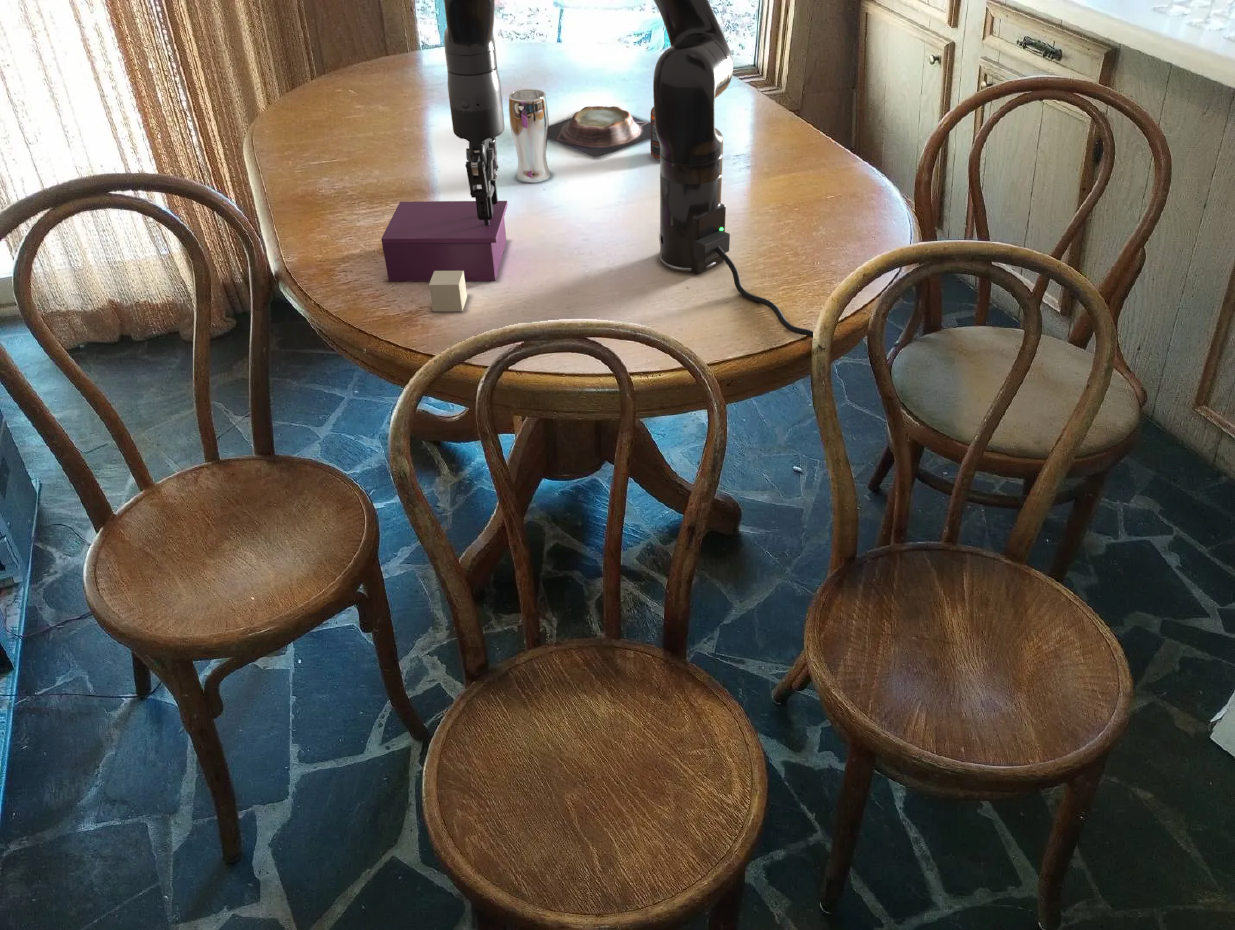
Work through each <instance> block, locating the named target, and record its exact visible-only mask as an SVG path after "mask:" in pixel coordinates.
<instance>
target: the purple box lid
mask: <svg viewBox="0 0 1235 930" xmlns="http://www.w3.org/2000/svg"><path fill="white" fill-rule="evenodd" d="M481 189H483V188H481ZM490 189H491V204H492V195H493V192H494V186H493V185H492V184H491V183H490ZM508 206H509V204H508V200H498V201H497V204H495V205H492V213H493V216H492V219H491V220H479V219H478V216H477V207H476V200H443V201H442V200H439V201H437V200H435V201H434V200H432V201H431V200H429V201H428V200H427V201H426V200H425V201H423V200H422V201H420V200H417V201H415V200H413V201H399V203H398V205H397V206H396V209H395V211H394V212H393V214H392V216H391V219H390V221H389V223H388V224H387V227H386V228H385V230H384V232H383V234H382V236H381V239H380V242H381V245H382V244H392V243H496V242H497V239H498V236H499V232H500V229H501V226H502V223H503V219H504V220H505V216H506V212H507V209H508Z"/></svg>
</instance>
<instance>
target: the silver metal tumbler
mask: <svg viewBox="0 0 1235 930" xmlns="http://www.w3.org/2000/svg"><path fill="white" fill-rule="evenodd" d="M508 118H509V126H510V131H511V136H512V140H513V143H514V147H515V151H516V155H517V156H516V157H517V168H516V169H517V171H516V178H517V180H518V181H521V182H523V183H528V184H535V183H537V184H538V183H541V182H544V181H547V180H548V179H549V178H550V177H551V173H550V168H549V165H548V158H547V151H548V150H547V149H548V140H549V139H548V129H549V126H550V123H549V122H550V121H549V120H550V119H549V109H548V102H547V94H546V92H545V91H544V90H541V89H538V88H523V89H522V88H521V89H517V90H514V91H512V92H510V93H509V94H508Z"/></svg>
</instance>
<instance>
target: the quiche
mask: <svg viewBox="0 0 1235 930" xmlns="http://www.w3.org/2000/svg"><path fill="white" fill-rule="evenodd" d="M650 123H651V122H648V121H645V120H642V119H639V118H637V117H634V116H632V114H631V113H630V112H629V111H627V110H625V109H622V108H621V107H620V106H615V105H612V106H603V105H595V106H590V105H589V106H584V107H583V108H582V109H580V110H578V111H576V112H574V114H573V115H572V116H571V117H569V118H566V119H564V120H561V121H559V122H557V123H554V124H551V125H549V129H548V140H551V141H554V142H556V143H559V144H561V145H563V146H567V147H569V148H571V149H573V150H576V151H577V152H580V153H582V154H585V155H587V156H590V157H593V158H599V157H603V156H606V155H609V154H613V153H615V152H617V151H618V152H619V151H620V150H623V149H626V148H629V147H632V146H634V145H637V144H639V143H642V142H645V141H647V140H651V139H650V137H651V136H650V135H651V134H650V133H651V132H650V131H651V130H650V129H651V127H650V125H651V124H650Z"/></svg>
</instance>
